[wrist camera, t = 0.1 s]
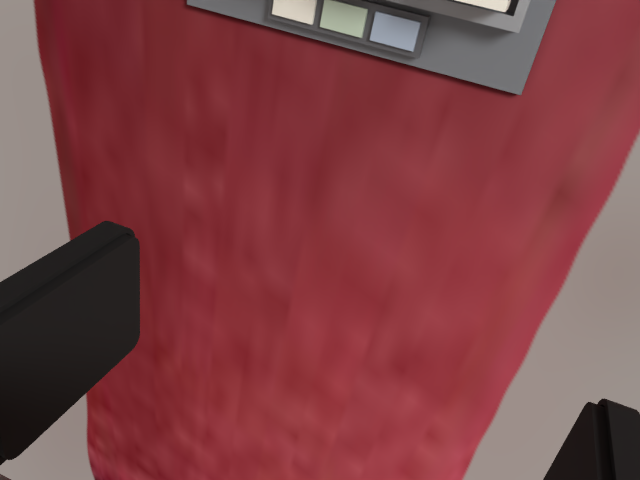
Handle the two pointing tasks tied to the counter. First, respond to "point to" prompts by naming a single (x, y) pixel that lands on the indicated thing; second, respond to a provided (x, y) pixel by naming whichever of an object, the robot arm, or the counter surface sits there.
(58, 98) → the counter surface
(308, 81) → the counter surface
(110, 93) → the counter surface
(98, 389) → the counter surface
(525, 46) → the keypad board
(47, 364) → the robot arm
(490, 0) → the cream key
